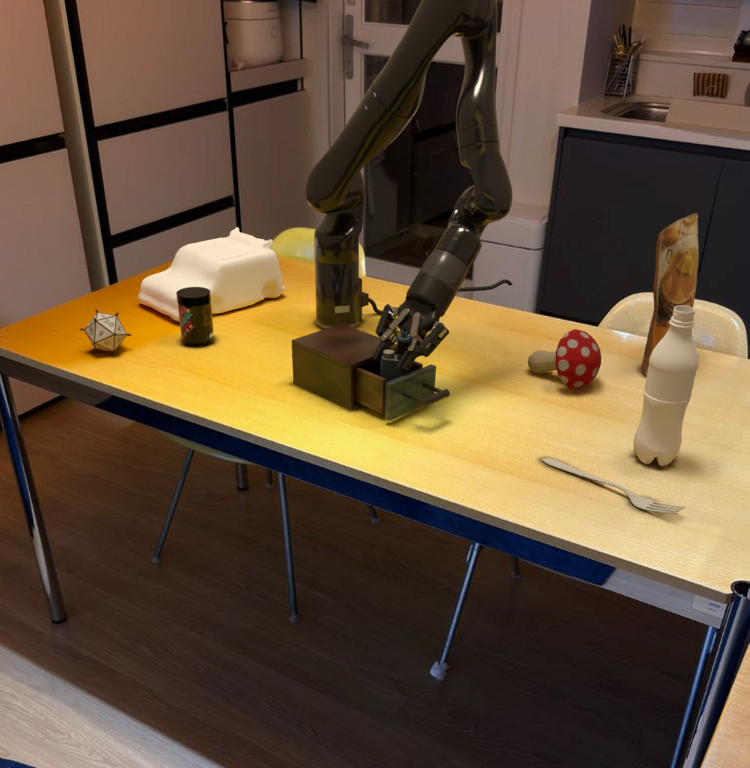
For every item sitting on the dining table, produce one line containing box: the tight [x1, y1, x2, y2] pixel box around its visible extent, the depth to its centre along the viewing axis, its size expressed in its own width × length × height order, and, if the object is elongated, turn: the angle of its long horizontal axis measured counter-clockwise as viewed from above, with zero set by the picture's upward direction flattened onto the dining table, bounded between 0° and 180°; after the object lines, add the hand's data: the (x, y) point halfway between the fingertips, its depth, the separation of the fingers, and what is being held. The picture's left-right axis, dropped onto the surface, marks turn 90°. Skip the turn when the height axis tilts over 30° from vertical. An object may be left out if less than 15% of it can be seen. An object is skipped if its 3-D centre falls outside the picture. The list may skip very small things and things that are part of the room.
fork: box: [542, 457, 686, 515], centre depth 133 cm, size 3×24×2 cm, turn 44°
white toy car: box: [137, 226, 286, 323], centre depth 198 cm, size 19×30×13 cm, turn 133°
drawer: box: [354, 353, 451, 422], centre depth 154 cm, size 20×11×7 cm, turn 45°
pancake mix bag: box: [640, 211, 699, 377], centre depth 167 cm, size 7×19×28 cm, turn 136°
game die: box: [79, 308, 132, 356], centre depth 174 cm, size 9×8×10 cm
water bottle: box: [633, 306, 700, 467], centre depth 135 cm, size 7×7×25 cm
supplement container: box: [176, 287, 215, 348], centre depth 178 cm, size 7×7×10 cm
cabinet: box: [291, 323, 397, 411], centre depth 161 cm, size 16×13×9 cm
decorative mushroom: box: [527, 328, 602, 391], centre depth 165 cm, size 11×11×15 cm
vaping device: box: [380, 331, 411, 383], centre depth 152 cm, size 3×5×12 cm, turn 79°
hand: (387, 367), depth 151 cm, fingers closed on vaping device, 5 cm apart
